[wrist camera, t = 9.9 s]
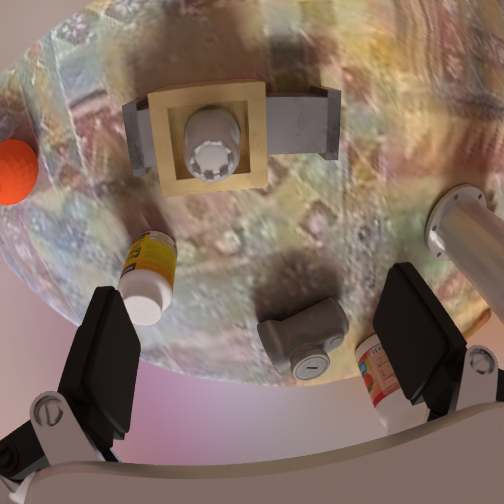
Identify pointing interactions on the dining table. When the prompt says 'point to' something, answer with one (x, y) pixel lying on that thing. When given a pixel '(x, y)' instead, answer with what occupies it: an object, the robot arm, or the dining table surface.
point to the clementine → (16, 171)
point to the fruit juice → (386, 388)
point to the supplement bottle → (148, 277)
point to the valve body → (251, 125)
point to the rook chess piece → (212, 143)
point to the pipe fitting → (305, 339)
